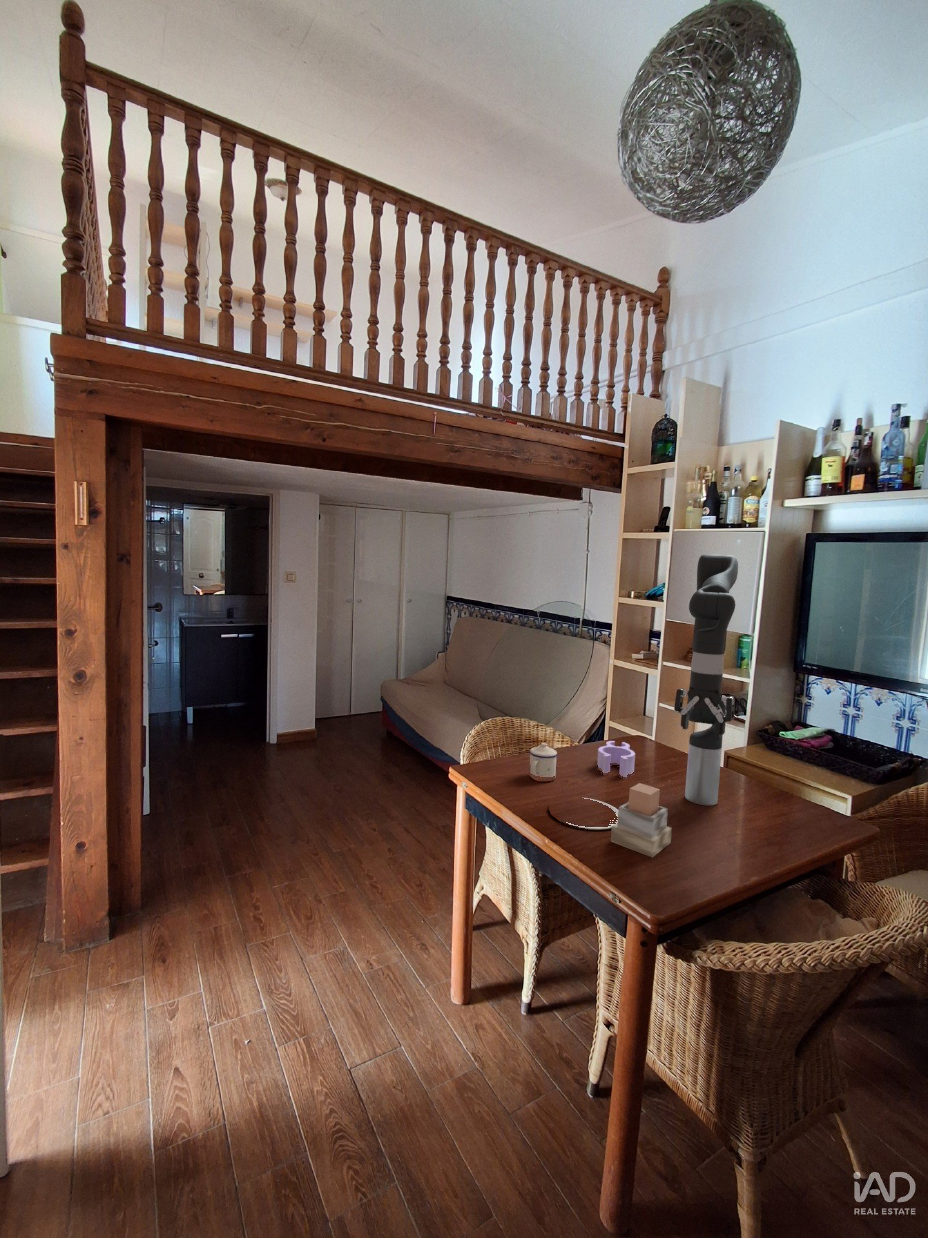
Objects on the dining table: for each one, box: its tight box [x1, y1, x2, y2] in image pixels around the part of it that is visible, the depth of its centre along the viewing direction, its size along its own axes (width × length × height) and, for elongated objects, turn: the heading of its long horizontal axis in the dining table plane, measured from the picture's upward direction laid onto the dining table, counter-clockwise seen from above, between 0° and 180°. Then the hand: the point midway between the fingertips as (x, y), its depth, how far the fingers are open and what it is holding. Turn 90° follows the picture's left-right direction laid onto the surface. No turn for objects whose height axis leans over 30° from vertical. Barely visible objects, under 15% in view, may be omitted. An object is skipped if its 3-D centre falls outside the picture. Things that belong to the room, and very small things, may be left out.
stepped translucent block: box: [610, 801, 673, 859], centre depth 142 cm, size 11×11×9 cm
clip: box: [596, 740, 636, 778], centre depth 198 cm, size 20×12×7 cm, turn 162°
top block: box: [628, 782, 661, 817], centre depth 141 cm, size 6×6×6 cm
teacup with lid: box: [528, 742, 558, 777], centre depth 183 cm, size 12×9×12 cm
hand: (701, 732), depth 144 cm, fingers open, 8 cm apart
